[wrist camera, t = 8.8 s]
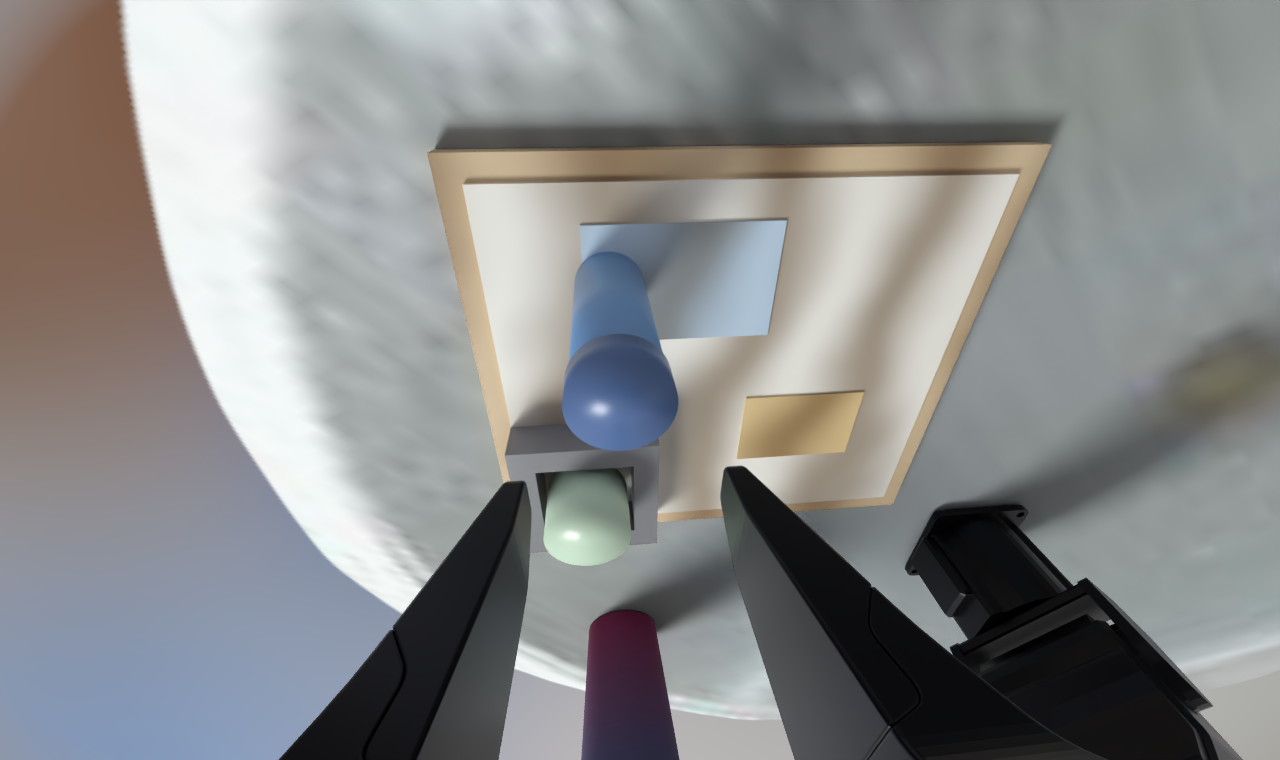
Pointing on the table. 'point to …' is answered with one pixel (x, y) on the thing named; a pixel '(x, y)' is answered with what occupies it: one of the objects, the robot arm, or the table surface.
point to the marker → (616, 359)
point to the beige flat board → (743, 294)
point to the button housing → (566, 452)
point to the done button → (587, 516)
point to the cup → (626, 692)
